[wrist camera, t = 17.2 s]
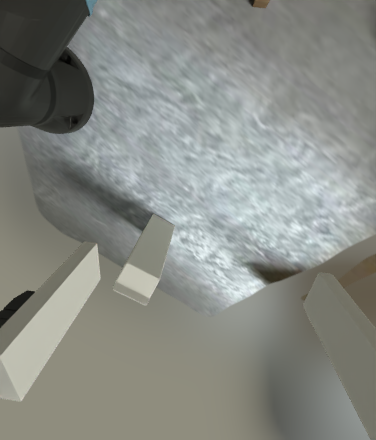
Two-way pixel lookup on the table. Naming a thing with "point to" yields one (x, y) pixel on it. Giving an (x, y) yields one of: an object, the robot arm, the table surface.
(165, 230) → the milk
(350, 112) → the table surface
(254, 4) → the footstool
